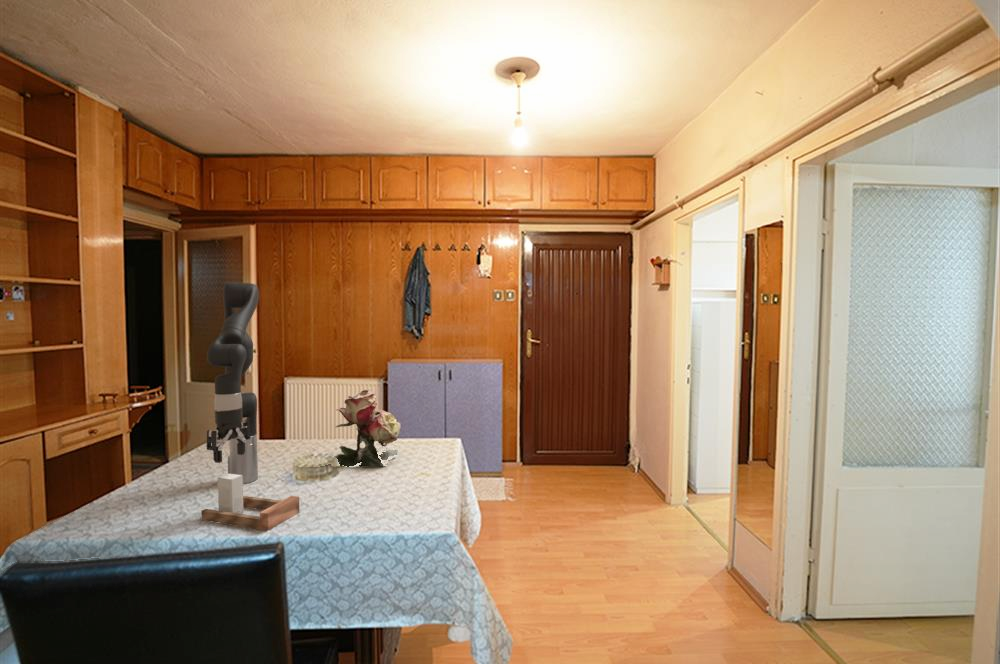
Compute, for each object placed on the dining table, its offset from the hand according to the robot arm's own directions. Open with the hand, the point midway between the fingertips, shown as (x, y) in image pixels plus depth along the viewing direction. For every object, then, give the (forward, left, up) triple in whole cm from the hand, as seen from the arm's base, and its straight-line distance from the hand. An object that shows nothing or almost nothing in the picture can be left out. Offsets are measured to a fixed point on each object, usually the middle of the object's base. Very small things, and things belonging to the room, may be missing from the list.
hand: (230, 458), depth 146 cm
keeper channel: (+8, 0, -18) cm, 19 cm away
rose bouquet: (+11, +62, -18) cm, 65 cm away
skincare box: (0, 0, -18) cm, 18 cm away
